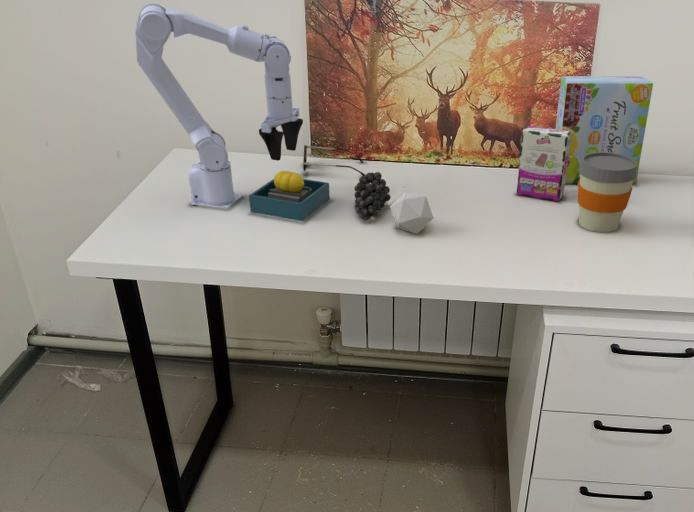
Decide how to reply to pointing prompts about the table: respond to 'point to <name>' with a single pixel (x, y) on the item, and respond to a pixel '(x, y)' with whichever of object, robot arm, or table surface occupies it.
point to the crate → (289, 208)
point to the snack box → (603, 117)
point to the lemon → (288, 181)
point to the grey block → (290, 194)
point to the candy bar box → (543, 162)
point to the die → (411, 212)
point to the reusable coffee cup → (604, 189)
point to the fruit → (370, 195)
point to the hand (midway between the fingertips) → (283, 154)
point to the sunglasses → (325, 164)
